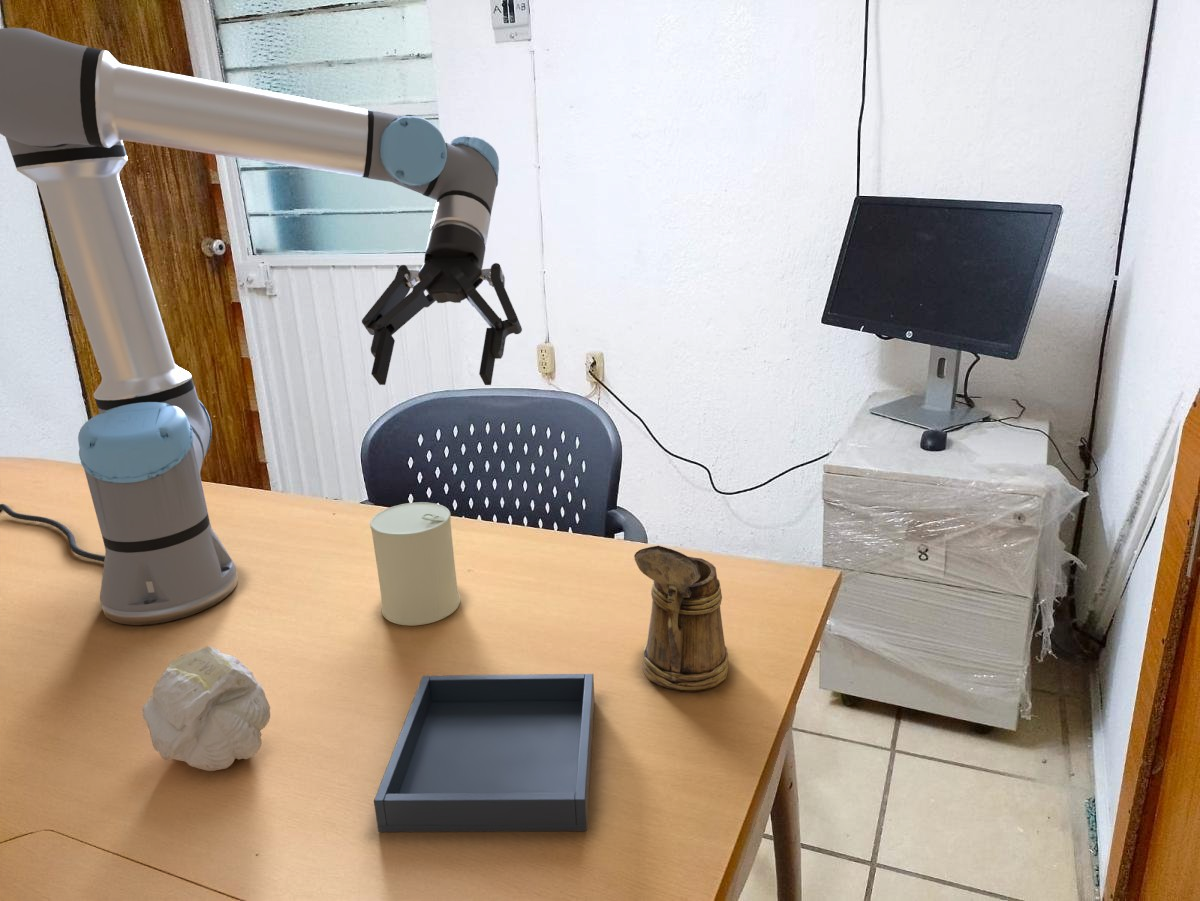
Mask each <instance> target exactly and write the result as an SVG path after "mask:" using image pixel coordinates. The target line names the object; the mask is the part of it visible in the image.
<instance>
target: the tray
mask: <svg viewBox="0 0 1200 901" xmlns="http://www.w3.org/2000/svg"><path fill="white" fill-rule="evenodd" d="M594 680H595V678H594V673H541V674H537V673H536V674H535V673H534V674H533V673H532V674H531V673H530V674H461V675H460V674H459V675H458V674H455V675H453V674H451V675H422V677H421V679H420V682H419V685H418V687H417V689H416V692H415V694H414V697H413V700H412V702H411V705H410V707H409V710H408V712H407V715H406V718H405V720H404V722H403V725H402V727H401V730H400V733H399V735H398V738H397V740H396V743H395V745H394V748H393V751H392V754H391V756H390V759H389V761H388V763H387V766H386V769H385V771H384V774H383V775H382V778H381V781H380V784H379V786H378V789H377V792H376V794H375V797H374V799H373V805H374V812H375V818H376V824H377V832H378V833H411V832H412V833H417V832H418V833H435V832H437V833H439V832H440V833H443V832H444V833H445V832H446V833H447V832H453V833H454V832H458V833H459V832H461V833H462V832H463V833H464V832H465V833H466V832H468V833H469V832H476V833H477V832H587V831H588V818H589V817H588V816H589V801H590V800H589V799H590V785H591V784H590V782H591V769H592V768H591V766H592V750H593V749H592V748H593V735H594V734H593V732H594V715H595V702H596V701H595V700H596V699H595V681H594Z"/></svg>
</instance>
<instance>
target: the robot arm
mask: <svg viewBox="0 0 1200 901" xmlns="http://www.w3.org/2000/svg"><path fill="white" fill-rule="evenodd" d="M0 135H2V136H3V137H5V140H6V143H7V145H8V146H7V147H8V149H9V152H10V154H11V157H12V159H13V163H14V166H15V169H16V171H17V172H19V173H20V174H22V175H23V176H25V177H27V178H28V179H30V180H31V181H33V182H34V183H35V184H36V185H37V187H38V191H39V194H40V196H41V200H42V202H43V205H44V208H45V211H46V214H47V217H48V220H49V223H50V227H51V230H52V232H53V236H54V238H55V242H56V244H57V247H58V250H59V253H60V256H61V259H62V262H63V265H64V268H65V272H66V274H67V277H68V280H69V283H70V286H71V289H72V292H73V295H74V299H75V301H76V304H77V307H78V310H79V314H80V316H81V320H82V322H83V326H84V328H85V332H86V335H87V337H88V341H89V343H90V346H91V349H92V352H93V355H94V358H95V361H96V364H97V367H98V370H99V373H100V377H101V382H100V383H99V385H98V386H97V387H96V389H95V390H94V393H93V398H94V401H95V404H96V407H97V410H98V414H95V415H93V416H92V417H91V418H90V419H88V420H87V421H85V422H84V424H83V425H82V426H81V428H80V429H79V432H78V435H77V442H78V448H79V450H78V457H79V460H80V464H81V467H82V468H83V470H84V474H85V477H86V478H85V479H86V481H87V486H88V488H89V492H90V496H91V500H92V503H93V507H94V511H95V515H96V519H97V522H98V526H99V530H100V534H101V537H102V542H103V546H104V549H105V552H104V554H105V555H101V554H97V553H92V552H90V551H86V550H83V549H82V548H80V547H78V546H77V543H76V538H75V535H74V534H73V533H72V531H71V530H70V529H69V528H68V527H67V526H66V525H64V524H62V523H61V522H59V521H57V520H54V519H51V518H48V517H45V516H39V515H31V514H23V513H19V512H15V511H14V510H13V509H12V508H10V507H9V506H8V505H6V503H0V512H2V511H4V512H5V513H6V514H7V515H8V516H10V517H11V518H14V519H18V520H22V521H31V522H37V523H43V524H47V525H50V526H52V527H55V528H56V529H58V530H59V531H60V532H62V533H63V534H64V535H65V536H66V537H67V541H68V547H69V548H70V549H71V551H72V552H73V553H75V554H76V555H78V556H80V557H82V558H86V559H90V560H94V561H98V562H102V563H103V568H102V578H101V585H100V592H99V600H100V605H101V609H102V611H103V614H104V616H105V617H106V619H109V620H110V621H112V622H114V623H118V624H122V625H130V626H141V625H142V626H145V625H154V624H155V625H156V624H162V623H168V622H172V621H177V620H180V619H183V618H187V617H189V616H192V615H195V614H198V613H200V612H203V611H205V610H207V609H209V608H211V607H213V606H214V605H216V604H218V603H220V602H221V601H223V600H224V599H226V598H227V597H228V596H229V595H230V594H231V593H232V592H233V591H234V590H235V588H236V587H237V584H238V582H239V577H238V572H237V568H236V563H235V562H234V560H233V559H232V557H231V555H230V554H229V552H228V551H227V550H226V547H225V546H224V544H223V543H222V542H221V540H220V539H219V537H218V535H217V534H216V532H215V531H214V528H213V527H212V525H211V521H210V516H209V511H208V506H207V501H206V496H205V492H204V487H203V482H202V477H201V471H202V468H203V465H204V461H205V458H206V455H207V454H208V452H209V449H210V446H211V442H212V439H213V438H212V434H213V427H212V421H211V417H210V414H209V413H208V411H207V409H206V407H205V405H204V404H203V402H201V400H200V399H199V396H198V393H197V390H196V386H195V384H194V380H193V377H192V374H191V373H190V372H189V371H188V370H185V369H184V368H182V367H180V366H178V364H176V363H175V359H174V357H173V353H172V349H171V347H170V343H169V339H168V336H167V333H166V330H165V326H164V323H163V320H162V319H163V318H162V315H161V313H160V309H159V306H158V303H157V299H156V297H155V292H154V289H153V286H152V283H151V279H150V276H149V273H148V269H147V265H146V262H145V260H144V257H143V256H144V255H143V253H142V249H141V246H140V243H139V239H138V237H137V233H136V230H135V226H134V222H133V219H132V216H131V213H130V209H129V207H128V203H127V200H126V196H125V192H124V189H123V186H122V183H121V179H120V173H121V171H122V169H123V168H124V167H125V165H126V163H127V162H128V161H129V159H128V155H127V151H126V148H125V145H124V142H123V141H125V142H130V143H131V142H132V143H139V144H144V145H151V146H158V147H165V148H171V149H178V150H184V151H190V152H198V153H203V154H210V155H216V156H223V157H228V158H229V157H230V158H235V159H242V160H249V161H255V162H261V163H269V164H275V165H281V166H288V167H294V168H300V169H307V170H313V171H321V172H328V173H333V174H340V175H347V176H353V177H360V178H366V179H370V180H376V181H383V182H388V183H392V184H395V185H398V186H401V187H403V188H406V189H408V190H410V191H413V192H415V193H418V194H421V195H422V196H425V197H427V198H430V199H433V200H435V206H434V211H433V215H432V219H431V224H430V226H429V235H428V237H427V243H426V248H425V253H424V261H423V264H422V267H421V268H419V269H418V270H417V269H409V268H408V266H407V265H405V264H401V265H399V266H398V268H397V271H396V274H395V277H394V279H393V280H392V281H391V283H390V284H389V285H388V287H387V288H386V289H385V290H384V291H383V293H382V294H381V295H380V297H378V299H377V300H376V301H375V303H374V304H373V305H372V307H370V309H369V310H368V312H367V313H366V314H365V315H364V317H363V318H362V319H361V324H362V325H363V327H364V328H365V329H366V331H367V332H368V334H369V335H370V336H373V337H372V341H371V346H370V353H371V355H372V356H373V358H374V360H373V364H372V369H371V376H372V377H373V378H374V380H375V381H376V382H377V383H378V384H379V386H386V384H387V379H388V374H389V369H390V364H391V362H392V361H391V360H392V356H393V351H394V346H395V343H396V340H395V338H394V337H393V335H394V334H395V333H396V332H398V331H399V330H400V329H401V328H402V327H403V326H404V325H405V324H407V323H408V322H409V321H410V320H411V319H413V318H414V317H415V316H416V315H417V314H418V313H419V312H421V311H422V310H423V309H424V308H429V307H430V306H432V305H433V304H434V303H435V302H436V303H437V304H446V303H449V302H450V303H453V304H457V303H458V304H461V302H462V301H464V300H467V301H468V302H469V303H470V305H471V307H473V308H474V309H475V310H476V311H477V313H478V314H479V316H481V317H482V319H483V320H484V321H485V322H486V324H487V325H488V326H489V327H486V330H485V335H484V341H483V347H482V354H481V361H480V367H479V371H478V375H479V376H480V379H481V380H482V382H483V384H484V386H492V381H493V375H494V368H495V362H496V360H497V359H498V360H499V359H500V360H501V359H503V356H504V352H505V345H506V340H507V337H508V336H509V335H511V334H514V335H520V334H521V333H522V331H523V328H522V325H521V323H520V320H519V318H518V315H517V313H516V310H515V308H514V306H513V304H512V302H511V299H510V297H509V295H508V292H507V290H506V286H505V282H506V280H505V279H506V278H505V274H504V272H503V270H502V267H501V264H500V263H498V262H494V263H492V265H491V266H490V268H483V265H484V260H485V254H486V245H487V242H488V236H489V230H490V224H491V217H492V211H493V207H494V206H493V205H494V200H495V196H496V191H497V188H498V185H499V171H500V158H499V155H498V153H497V150H496V149H495V148H494V147H493V145H491V144H490V143H489V142H488V141H486V140H485V139H483V138H481V137H479V136H471V137H470V136H468V135H461V136H458V137H456V138H454V139H452V141H451V142H450V143H448V142H446V141H445V138H444V136H443V134H442V132H441V131H440V130H439V128H438V127H437V126H436V125H435V124H434V123H432V122H431V121H429V120H428V119H426V118H424V117H422V116H418V115H414V114H405V115H398V114H393V113H387V112H384V111H383V112H382V111H375V110H371V109H369V110H368V109H366V108H362V107H356V106H350V105H345V104H339V103H335V102H328V101H323V100H318V99H312V98H308V97H302V96H298V95H297V96H296V95H291V94H285V93H281V92H274V91H270V90H264V89H260V88H253V87H247V86H243V85H238V84H233V83H227V82H222V81H217V80H211V79H205V78H201V77H196V76H195V77H194V76H189V75H184V74H179V73H173V72H168V71H163V70H158V69H157V70H156V69H152V68H147V67H140V66H136V65H130V64H124V63H121V62H119V61H118V60H117V59H116V58H115V57H114V56H113V55H112V54H111V52H109V50H105V49H100V48H96V47H91V46H87V45H81V44H78V43H75V42H74V43H73V42H71V41H66V40H63V39H59V38H57V37H53V36H51V35H48V34H46V33H44V32H40V31H38V30H34V29H30V28H27V27H26V28H24V27H13V26H11V27H3V28H0ZM483 281H486V282H487V285H489V286H491V287H492V288H493V289H494V291H495V293H496V297H497V298H498V300H499V303H500V305H501V307H502V310H503V312H504V314H505V317H506V319H504V320H502V318H501V317H500V316H498V314H497V313H496V312H495V311H494V310H493V308H492V307H491V306H490V305H489V304H488V302H487V301H486V300H485V298H483V296H482V295H481V293H479V291H478V290H477V288H478V287H479V286H480V285H481V284H482V283H483ZM411 289H412V290H411ZM410 290H411V292H410ZM425 291H426V292H427V295H426V293H425Z"/></svg>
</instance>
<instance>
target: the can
mask: <svg viewBox="0 0 1200 901" xmlns="http://www.w3.org/2000/svg"><path fill="white" fill-rule="evenodd" d="M451 517H452V514H451V511H450V510H449V508H447V507H446V506H444V505H442V504H439V503H434V502H428V501H427V502H426V501H425V502H424V501H419V502H408V503H407V502H406V503H402V504H401V503H400V504H398V505H393V506H391V507H387V508H385V509H383V510H381V511H379V512H377V513H376V514H375V515H374V516H373V517H372V518H371V520H370V522H369V526H370V530H371V535H372V541H373V548H374V555H375V561H376V569H377V576H378V583H379V591H380V597H381V614H382V616H383V618H385V620H387V621H388V622H390V623H393V624H396V625H399V626H411V627H412V626H413V627H414V626H415V627H416V626H423V625H428V624H432V623H435V622H438V621H441V620H444V619H445V618H447V617H449V616H451V615H452V614H453V613H455V612H456V611H457V609H458V608H459V605H460V603H461V596H460V593H459V590H458V580H457V573H456V562H455V554H454V546H453V545H454V543H453V532H452V522H451V521H452V520H451Z"/></svg>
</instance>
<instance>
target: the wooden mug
mask: <svg viewBox="0 0 1200 901" xmlns="http://www.w3.org/2000/svg"><path fill="white" fill-rule="evenodd" d="M633 557H634V561H635V564H636V566H637V567H638V569H639V572H641V573H642V574H643V575H645V576H646V577H648V578H649V579H650V580H652V587H651V594H650V595H651V599H652V602H651V610H650V611H651V613H650V618H649V626H648V634H647V642H646V644H645V646H644V647H643V656H642V670H643V673H644V675H645V677H647V679H648V680H649V681H651V682H653V683H655V684H656V685H658V686H661V687H663V688H665V689H668V690H672V691H673V690H674V691H678V692H682V693H683V692H685V693H686V692H687V693H688V692H689V693H691V692H692V693H693V692H694V693H695V692H701V691H702V692H703V691H706V690H710V689H713V688H716V687H717V686H718V685H720V684H721V683H722V682H723V681H725V680H726V679H727V676H728V672H729V653H728V647H727V646H726V642H725V635H724V628H723V619H722V613H721V604H722V601H723V594H722V589H721V582H720V579H719V578H718V575H717V567H716V566H715V565H714V564H713V563H711V562H709V561H708V560H705V559H704V558H701V557H693V556H688V555H686V554H684V553H682V552H680V551H677V550H674V549H672V548H668V547H666V546H661V545H655V546H650V547H644V548H640V549H639V550H637V551H636V552H635V553H634V556H633Z"/></svg>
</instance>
